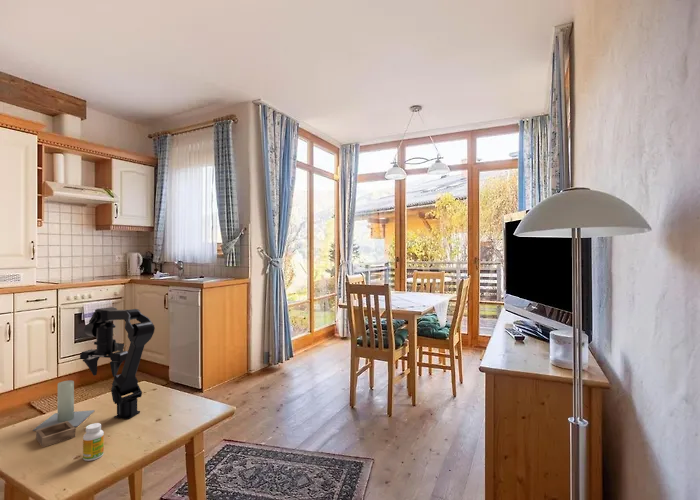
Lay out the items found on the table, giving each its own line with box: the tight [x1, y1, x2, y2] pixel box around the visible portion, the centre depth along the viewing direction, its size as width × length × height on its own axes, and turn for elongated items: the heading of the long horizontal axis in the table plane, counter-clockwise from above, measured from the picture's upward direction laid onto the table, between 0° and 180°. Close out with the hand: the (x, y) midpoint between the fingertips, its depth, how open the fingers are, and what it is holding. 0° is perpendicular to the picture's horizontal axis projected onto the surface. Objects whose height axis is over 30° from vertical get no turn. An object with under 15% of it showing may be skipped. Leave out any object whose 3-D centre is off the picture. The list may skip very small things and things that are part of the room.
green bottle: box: [57, 380, 75, 422], centre depth 143 cm, size 5×5×14 cm
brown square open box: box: [35, 421, 76, 448], centre depth 130 cm, size 9×9×3 cm
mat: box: [32, 409, 95, 432], centre depth 143 cm, size 14×14×1 cm
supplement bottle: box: [82, 422, 105, 462], centre depth 118 cm, size 5×5×10 cm
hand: (104, 375), depth 155 cm, fingers open, 9 cm apart
